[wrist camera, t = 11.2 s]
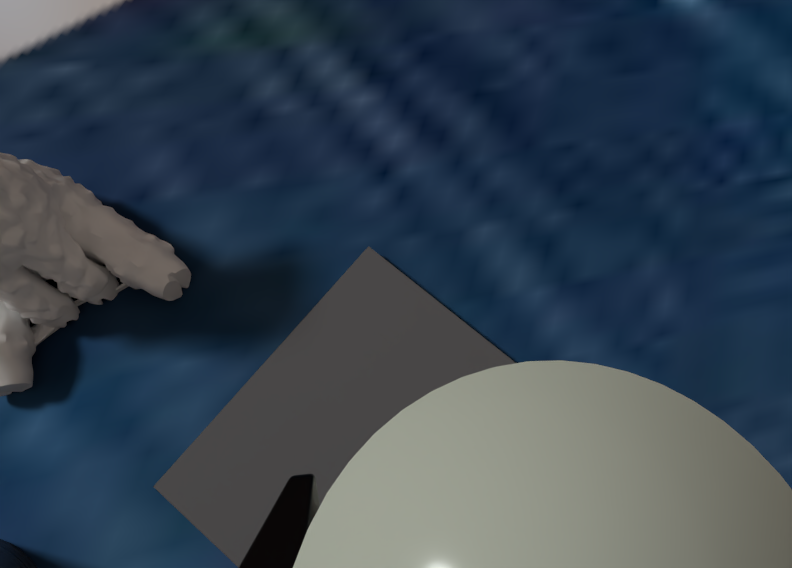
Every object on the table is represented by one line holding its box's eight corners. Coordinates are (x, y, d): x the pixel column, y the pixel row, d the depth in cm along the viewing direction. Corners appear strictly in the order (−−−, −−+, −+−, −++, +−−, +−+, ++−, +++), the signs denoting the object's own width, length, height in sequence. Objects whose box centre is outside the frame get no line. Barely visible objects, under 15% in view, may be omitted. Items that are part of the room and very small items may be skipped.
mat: (659, 483, 22) (670, 485, 21) (476, 782, 19) (481, 797, 18) (368, 252, 24) (368, 246, 23) (161, 484, 21) (153, 486, 20)
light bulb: (565, 492, 16) (971, 608, 5) (454, 660, 14) (687, 1302, 4) (422, 374, 16) (510, 259, 6) (303, 522, 15) (140, 721, 4)
